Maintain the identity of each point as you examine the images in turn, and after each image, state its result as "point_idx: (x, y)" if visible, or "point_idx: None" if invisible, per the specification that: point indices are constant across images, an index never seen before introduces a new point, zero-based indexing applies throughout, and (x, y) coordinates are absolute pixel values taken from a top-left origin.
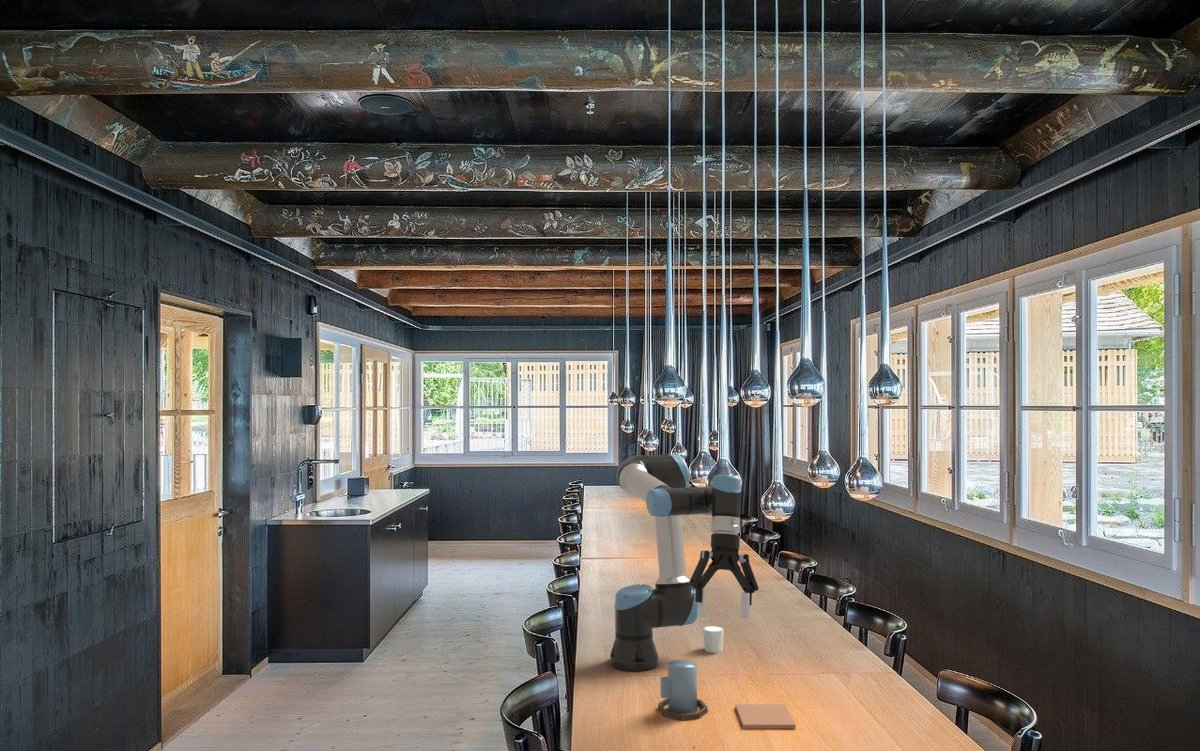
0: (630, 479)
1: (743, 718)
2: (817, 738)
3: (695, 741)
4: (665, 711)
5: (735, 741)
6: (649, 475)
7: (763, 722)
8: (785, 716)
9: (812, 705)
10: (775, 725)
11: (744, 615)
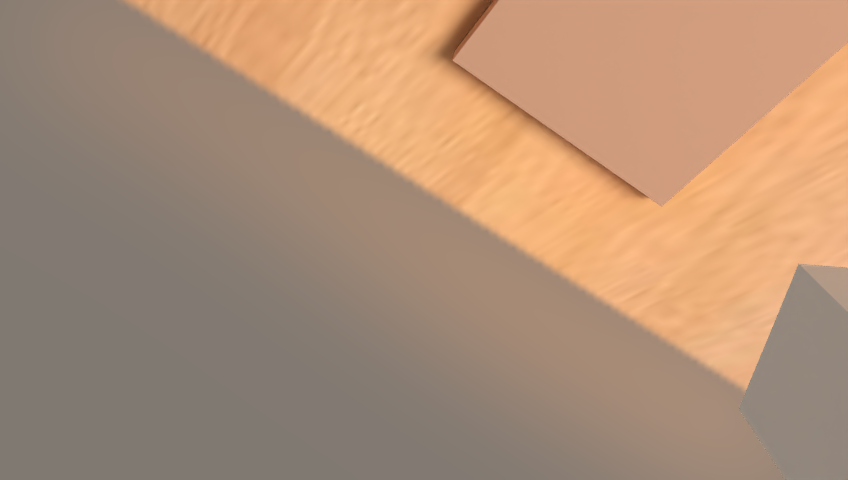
0: None
1: (514, 5)
2: (640, 294)
3: (152, 16)
4: None
5: (324, 124)
6: None
7: (558, 104)
8: (717, 121)
9: None
10: (585, 151)
11: (788, 384)
